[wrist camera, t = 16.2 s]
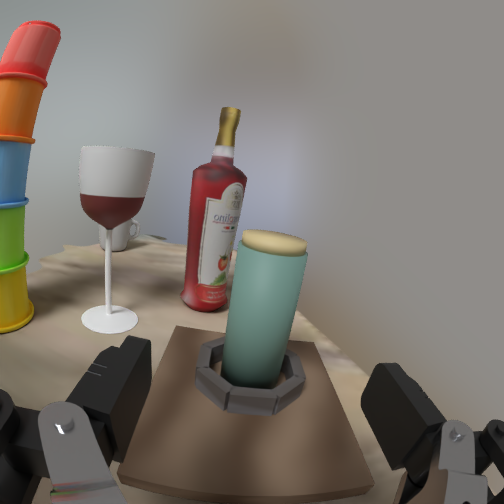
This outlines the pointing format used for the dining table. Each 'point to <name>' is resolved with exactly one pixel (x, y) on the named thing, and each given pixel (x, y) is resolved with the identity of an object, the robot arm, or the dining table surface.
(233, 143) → the liquor
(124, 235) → the cup
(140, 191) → the wineglass
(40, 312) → the dining table surface
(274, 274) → the teal cylinder
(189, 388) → the lamp base
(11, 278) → the stacking cups
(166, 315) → the dining table surface
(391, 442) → the robot arm
